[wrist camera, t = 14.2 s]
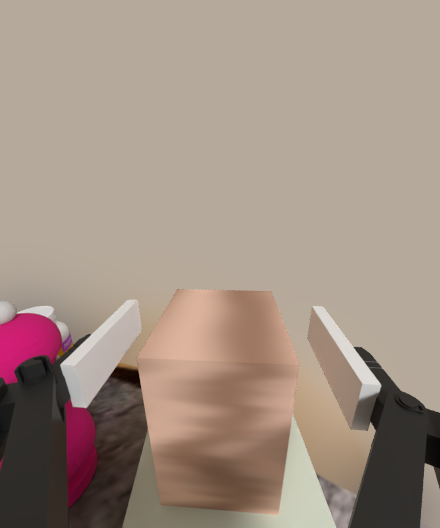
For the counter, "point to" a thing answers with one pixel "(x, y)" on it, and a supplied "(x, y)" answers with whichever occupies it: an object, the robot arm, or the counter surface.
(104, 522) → the counter surface
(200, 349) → the clay pillar block
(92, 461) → the pepper mill
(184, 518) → the sage top block
